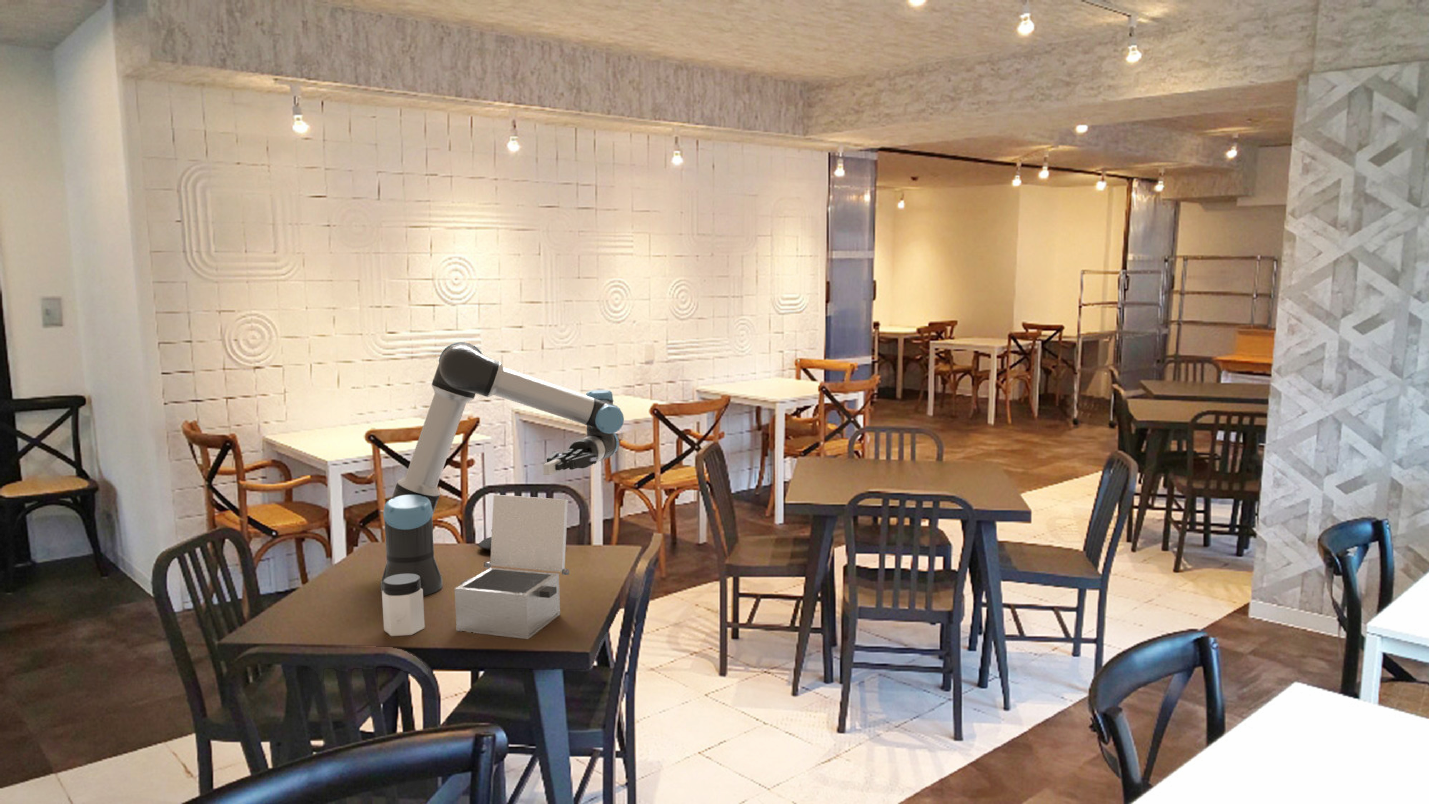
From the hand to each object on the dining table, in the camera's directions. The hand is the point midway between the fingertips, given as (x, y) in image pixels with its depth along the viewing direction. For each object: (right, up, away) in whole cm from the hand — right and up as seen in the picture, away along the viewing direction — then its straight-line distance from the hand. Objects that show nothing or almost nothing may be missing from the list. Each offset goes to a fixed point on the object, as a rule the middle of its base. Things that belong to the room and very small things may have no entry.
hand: (546, 469), depth 239 cm
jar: (-29, -35, -19) cm, 50 cm away
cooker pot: (-6, -34, -15) cm, 38 cm away
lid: (-3, -15, -9) cm, 17 cm away
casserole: (-15, -27, +44) cm, 53 cm away
